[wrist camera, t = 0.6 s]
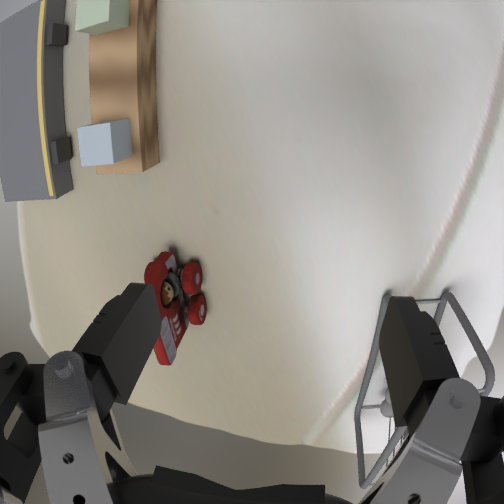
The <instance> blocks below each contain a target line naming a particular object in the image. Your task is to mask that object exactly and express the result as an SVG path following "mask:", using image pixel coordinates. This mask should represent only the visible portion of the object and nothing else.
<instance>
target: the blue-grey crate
mask: <svg viewBox="0 0 504 504" xmlns="http://www.w3.org/2000/svg"><path fill="white" fill-rule="evenodd" d="M77 130H78V140H79V150H80V158H81V166H93V165H106V164H115V163H117V162H119V161H121V160H123V159H125V158H128V157H130V156H132V155H133V152H132V140H131V126H130V118H128V119H120V120H113V121H106V122H99V123H95V124H91V125H87V126H82V127H79V128H77Z"/></svg>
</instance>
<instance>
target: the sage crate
mask: <svg viewBox="0 0 504 504" xmlns="http://www.w3.org/2000/svg"><path fill="white" fill-rule="evenodd" d="M129 7H130V0H77V10H76V24H75V31H76V32H83V33H88V34H94V35H99V34H102V33H106V32H109V31H113V30H117V29H121V28H125V27H129Z"/></svg>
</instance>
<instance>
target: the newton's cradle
mask: <svg viewBox="0 0 504 504" xmlns="http://www.w3.org/2000/svg"><path fill="white" fill-rule="evenodd" d="M391 297H392V296H391V295H386V296H384V297H383V299H382V303H381V308H380V313H379V318H378V322H377V327H376V332H375V336H374V341H373V345H372V349H371V353H370V357H369V361H368V365H367V369H366V373H365V377H364V380H363V384H362V388H361V391H360V395H359V398H358V401H357V405H356V408H355V415H354V420H355V431H356V444H357V457H358V473H359V485H360V487H361V488H362V489H366V488H367V487H368V486H373V485H374V484H375V483H374V484H370V483H371V482H372V480H373V479H374V478H375V476H376V475H377V473H378V472H379V471H380V469H381V468H382V466H383V465H384V463H385V462H386V460H387V462H388V457H389V456H390V454H391V453H392V451H393V450H394V449H395V447H396V445H397V443H398V442H399V440H400V439H401V444H402V437H403V435H404V437H403V440H404V439H405V438H406V436H407V435H408V434H409V433H408V428H407V426H404V427H397V428H396V427H395V432H394V433H393V435H392V437H391V439H390V424H389V439H390V440H388V444H387V446H386V447H385V449H384V451H383V452H382V454H381V456H380V457H379V459H378V461H377V462H376V464H375V465H374V467H373V469H372V470H371V472H370V473H369V475H368V476H367V478H366V479H365V467H364V453H363V442H362V432H361V422H360V412H361V409H371V408H380V411H381V413H382V415H383V416H385V417H388V418H390V421H391V417H394V416H393V410H392V405H391V400H390V394H389V389H387V391H386V393H385V400H384V401H383V402H382V403H381V406H372V407H362V405H363V402H364V398H365V395H366V392H367V389H368V386H369V382H370V379H371V375H372V372H373V368H374V365H375V361H376V357H377V354H378V350H379V335H380V330H381V327H382V323H383V320H384V316H385V313H386V309H387V306H388V302H389V299H390V298H391ZM447 300H448V302H449V304H450V305H451V307H452V309H453V310H454V312H455V314H456V316H457V318H458V319H459V321H460V323H461V325H462V327H463V328H464V330H465V332H466V334H467V336H468V338H469V340H470V342H471V344H472V346H473V348H474V350H475V352H476V354H477V356H478V358H479V360H480V362H481V364H482V366H483V368H484V370H485V374H486V382H485V385H484V387H483V388H482V389H478V392H479V395H481V396H486V397H487V396H488V395H489V393H490V392H491V390H492V388H493V385H494V381H495V372H494V367H493V364H492V363H491V360H490V358H489V356H488V354H487V352H486V351H485V349H484V347H483V345H482V343H481V341H480V339H479V337H478V336H477V334H476V332H475V330H474V329H473V327H472V325H471V323H470V322H469V320H468V318H467V316H466V315H465V313H464V311H463V310H462V308H461V306H460V305H459V303H458V301H457V300H456V298H455V297H454V295H453V294H452V293H451V292H445V293H444V294H443V295H442V296H441V299H440V300H430V301H416V303H417V304H426V303H439V305H438V308H437V311H436V315H435V318H434V320H435V321H436V323H437V325H438V327H439V324H440V321H441V318H442V315H443V312H444V309H445V306H446V303H447ZM394 451H395V450H394ZM394 451H393V457H394ZM386 467H387V464H386Z"/></svg>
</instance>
